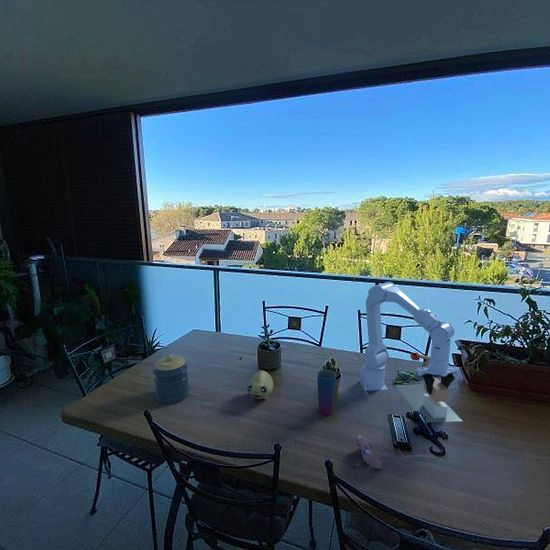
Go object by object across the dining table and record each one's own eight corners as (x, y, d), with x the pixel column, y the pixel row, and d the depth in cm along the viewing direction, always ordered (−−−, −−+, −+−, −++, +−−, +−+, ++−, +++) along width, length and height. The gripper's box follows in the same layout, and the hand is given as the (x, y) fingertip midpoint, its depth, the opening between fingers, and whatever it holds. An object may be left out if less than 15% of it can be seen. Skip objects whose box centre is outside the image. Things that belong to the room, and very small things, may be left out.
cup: (336, 407, 121) (337, 371, 118) (333, 419, 115) (334, 380, 112) (318, 404, 123) (319, 368, 120) (314, 415, 117) (315, 377, 114)
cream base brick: (433, 418, 114) (434, 406, 113) (422, 404, 121) (423, 393, 120) (446, 417, 114) (447, 406, 113) (434, 404, 122) (435, 393, 121)
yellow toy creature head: (243, 405, 123) (242, 379, 121) (252, 388, 134) (251, 364, 132) (268, 408, 121) (268, 382, 119) (275, 391, 132) (275, 367, 130)
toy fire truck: (443, 376, 142) (445, 356, 140) (411, 375, 144) (412, 355, 142) (440, 373, 146) (442, 353, 144) (408, 371, 147) (410, 351, 145)
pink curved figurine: (358, 450, 102) (349, 433, 100) (371, 444, 102) (363, 427, 100) (370, 476, 92) (360, 458, 91) (385, 468, 92) (375, 450, 91)
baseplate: (423, 424, 112) (423, 422, 111) (394, 386, 135) (394, 385, 135) (462, 422, 112) (462, 421, 112) (427, 385, 136) (427, 384, 136)
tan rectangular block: (435, 401, 112) (436, 390, 112) (423, 389, 120) (424, 378, 119) (447, 401, 113) (449, 389, 112) (435, 388, 120) (436, 377, 120)
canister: (153, 407, 122) (148, 364, 119) (157, 388, 135) (154, 349, 131) (188, 402, 125) (185, 360, 121) (190, 385, 137) (187, 346, 134)
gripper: (424, 363, 109) (421, 399, 112) (466, 361, 110) (462, 398, 112) (415, 353, 116) (412, 388, 119) (454, 352, 117) (450, 387, 119)
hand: (435, 392), depth 116 cm, fingers closed on tan rectangular block, 4 cm apart
